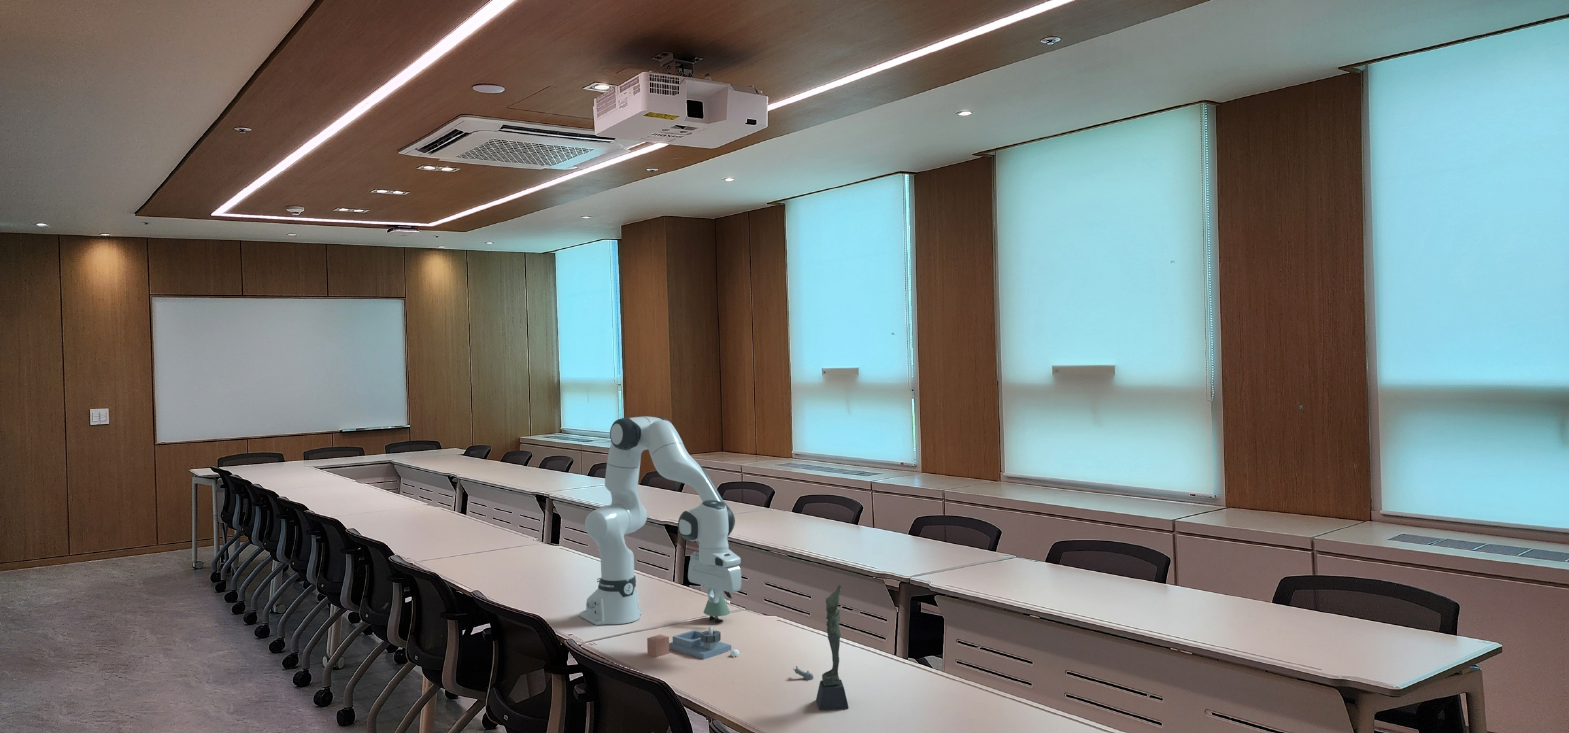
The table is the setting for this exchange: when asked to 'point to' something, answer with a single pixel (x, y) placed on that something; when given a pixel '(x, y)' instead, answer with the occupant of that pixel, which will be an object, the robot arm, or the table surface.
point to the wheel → (710, 636)
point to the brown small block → (658, 645)
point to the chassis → (697, 645)
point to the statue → (830, 685)
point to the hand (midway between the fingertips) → (713, 601)
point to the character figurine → (717, 608)
